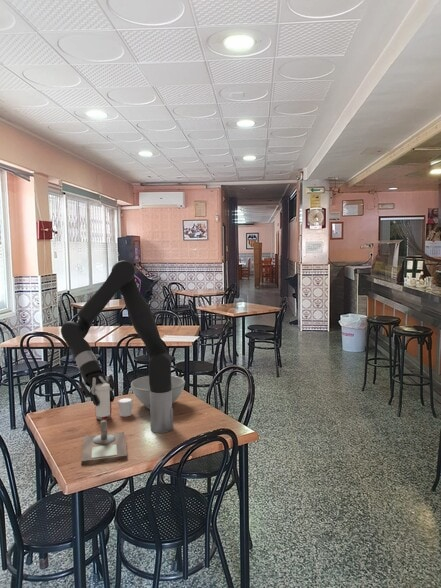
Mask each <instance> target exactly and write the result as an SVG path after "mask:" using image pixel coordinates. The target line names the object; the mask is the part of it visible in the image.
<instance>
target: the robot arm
mask: <svg viewBox="0 0 441 588" xmlns="http://www.w3.org/2000/svg"><path fill="white" fill-rule="evenodd" d="M135 272H136V269H135V267H134V264H133V263H131V262H130V261H128V260H119V261H117V262H115V263H114V264H113V266H112V268H111V271H110V273H109V275H108V276H107V278H106V279H105V281H104V283H102V285H101V286H100V287H99V289H97V290H96V292H95V293H93V295H92V296H90V297H89V299H88V300H87V301H86V302H85V303H84V305H83V306H82V307H81V308H80V309H79V311H78V313H77V316H78V320H77V322H75V321H72V320H69V321H65V322H64V323H63V324H62V325H61V328H60V334H61V336H62V339H63V340H64V342H65V343H66V345H67V346H68V347H69V349H70V350H71V353H72V355H73V357H74V359H75V363H76V366H77V369H78V370H79V373H80V376H81V378H82V380H83V381H82V380H81V381H79V383H78V385H77V388H78V389H79V390H80V392H81V394H82V395H83V397H84V398H86V399H87V398H90V399H91V401H92V403H93V405H94V406H95V405H96V406H99V404H100V402H99V400H98V397H97V395H96V394H95V385H97V384H101V383H107V384H110V402H111V403H113V402H114V401H115V398H116V397H115V395H114V393H113V392H114V390H115V388H116V384H115V380H114V377H113V375H112V374H109V375H105V374H104V373H103V369H102V367H101V365H100V363H99V361H98V358H97V357H96V355H95V354H94V352H93V350H92V347H91V345H90V344H89V342H88V341H87V340H86V339H85V338H86V336H87V335H88V333H89V331H90V330H91V328H92V327H91V326H92V324H93V323H94V321H95V320H96V319H98V317H99V315H101V313H102V312H103V310H105V307H106V306H107V305H108V303H109V302H110V301H111V299H112V298H113V297H114V296H115V295H116V294H117V292H120V293H121V295H122V298H123V301H124V304H125V307H126V311H127V314H128V316H129V319H130V322H131V324H132V326H133V328H134V330H135V332H136V334H137V335H138V337H139V338H140V340H141V341H142V342H143V344H144V346H145V348H146V350H147V353H148V356H149V361H148V362H149V363H148V376H149V385H150V409H149V411H150V431H151V432H153V433H159V434H162V433H167V432H170V431H173V430H174V408H173V405H172V404H173V403H172V384H171V375H172V357H171V356H170V353H169V351H168V350H167V349H166V346H165V344H164V342H163V341H162V338H161V335H160V333H159V329H158V326H157V323H156V320H155V318H154V315H153V313H152V310H151V308H150V306H149V304H148V303H147V301H146V299H145V298H144V296H143V295H142V293H141V291H140V290H139V287H138V285H137V281H136V278H135Z"/></svg>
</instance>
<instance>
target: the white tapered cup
mask: <svg viewBox="0 0 441 588" xmlns="http://www.w3.org/2000/svg"><path fill="white" fill-rule="evenodd" d="M133 400H134V399H133V398H131V397H123V398H120V399H117V404H118V405H117V406H118V414H119V416H120V417H123V418H124V417H129V416H132V413H133Z"/></svg>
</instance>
